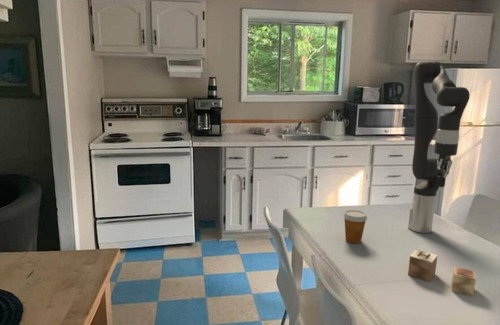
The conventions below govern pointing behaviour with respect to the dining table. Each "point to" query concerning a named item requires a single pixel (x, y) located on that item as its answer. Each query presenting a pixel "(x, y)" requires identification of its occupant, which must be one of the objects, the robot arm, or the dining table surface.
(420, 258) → the walnut block
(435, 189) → the robot arm
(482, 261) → the dining table surface
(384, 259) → the dining table surface
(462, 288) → the oak block
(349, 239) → the disposable coffee cup
